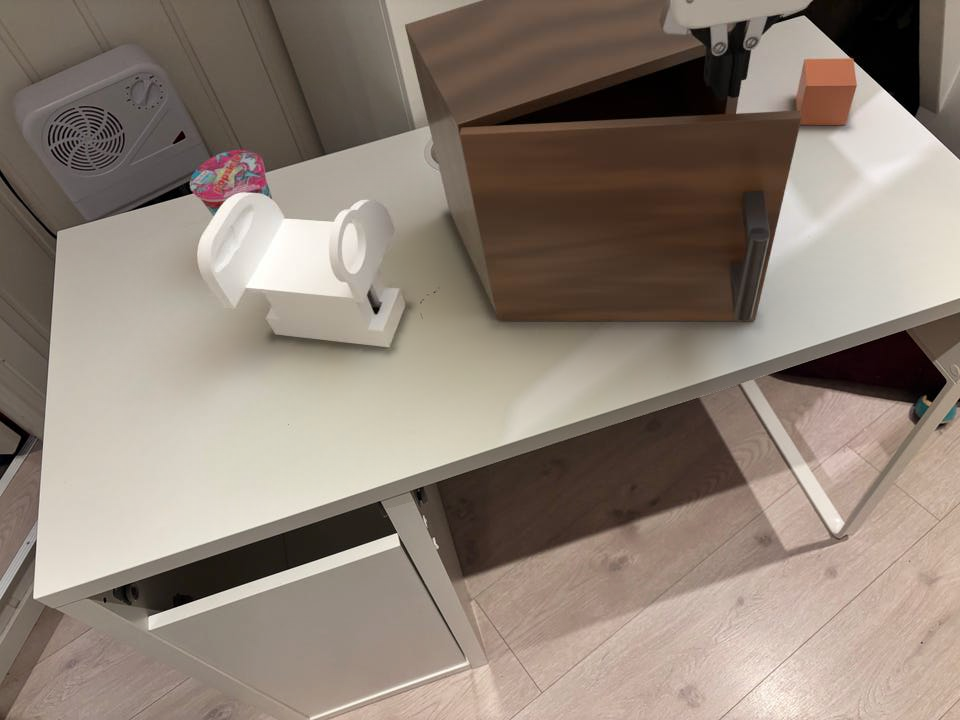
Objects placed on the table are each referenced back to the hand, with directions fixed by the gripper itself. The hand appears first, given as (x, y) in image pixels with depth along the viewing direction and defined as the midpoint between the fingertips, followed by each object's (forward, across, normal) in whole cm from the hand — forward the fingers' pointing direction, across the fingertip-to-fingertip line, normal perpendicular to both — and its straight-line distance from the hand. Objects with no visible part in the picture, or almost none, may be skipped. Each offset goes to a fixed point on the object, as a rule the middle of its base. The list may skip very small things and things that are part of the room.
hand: (723, 88), depth 60 cm
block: (+24, +22, +25) cm, 41 cm away
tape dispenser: (+24, -39, +3) cm, 46 cm away
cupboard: (+24, -11, +12) cm, 29 cm away
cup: (+24, -49, +17) cm, 57 cm away
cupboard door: (+24, -9, -6) cm, 26 cm away
